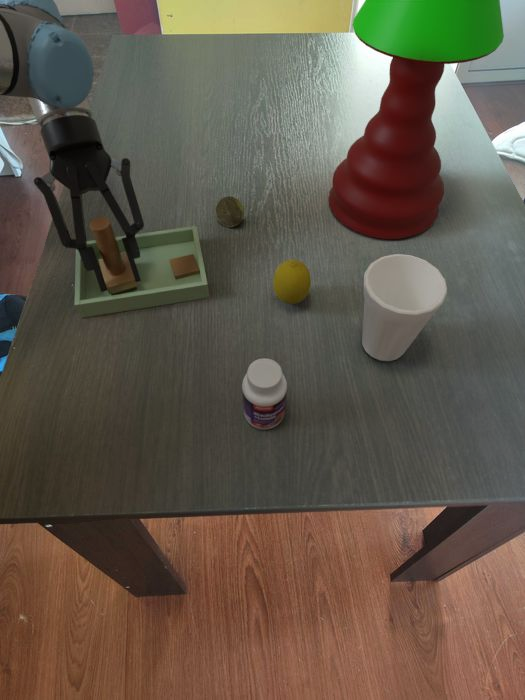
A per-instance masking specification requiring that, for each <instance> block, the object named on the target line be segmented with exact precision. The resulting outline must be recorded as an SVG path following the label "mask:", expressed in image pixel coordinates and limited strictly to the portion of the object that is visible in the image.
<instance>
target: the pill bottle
mask: <svg viewBox="0 0 525 700" xmlns="http://www.w3.org/2000/svg"><path fill="white" fill-rule="evenodd" d="M287 391H288V383H287V379H286V377H285V374H284V373H283V370H282V367H281V366H280V365H279V363H278V362H277V361H275V360H273V359H271V358H264V357H263V358H258V359H256V360H254V361H252V362H251V363H250V364H249V366H248V368H247V372H246V373H245V375H244V377H243V379H242V384H241V392H242V394H241V395H242V404H243V405H242V407H243V409H242V410H243V415H244V418H245V420H246V421H247V423H248V424H249V425H250V426H251V427H254V428H256V429H258V430H270V429H273V428H275V427H277V426H278V425H280V423H281V422H282V421H283V419H284V417H285V413H286V403H287Z"/></svg>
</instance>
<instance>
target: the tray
mask: <svg viewBox="0 0 525 700" xmlns="http://www.w3.org/2000/svg"><path fill="white" fill-rule="evenodd" d="M125 237H126V235H120V236H115V238H116V240H117V243H118V246H119V249H120V252H121V253H125V252H126V250H125V247H124V244H123V241H122V238H125ZM135 238H136V241H137V244H138V248H139V251H140V258H136V259H134V261H135V264H136V267H137V270H138V273H139V276H140V279H141V281H139V282H136V283H137V290H133V291H130V292H126V293H123V294H118V295H112V296H111V294H109V293H108V290H107V291H103V292H101V289H100V287H99V284H98V281H97V278H96V275H95V272H94V270H91V271H87V270H86V269H85V268H84V265H83V262H82V259H81V256H80V253H79V251H78V250H77V249H75V272H74V273H75V277H74V307H75V309H76V311H77V313H78V315H79V317H80V319H84V318H90V317H96V316H103V315H108V314H116V313H121V312H127V311H133V310H139V309H146V308H147V309H148V308H153V307H159V306H165V305H171V304H177V303H185V302H190V301H191V302H192V301H196V300H197V301H198V300H203V299H209V298H210V289H209V284H208V278H207V274H206V268H205V264H204V258H203V252H202V248H201V243H200V238H199V232H198V227H197V225H192V226H184V227H177V228H170V229H163V230H157V231H149V232H142V233H141V232H140V233H136V235H135ZM86 241H87V247H90V246H92V247H93V249H94V252H95V255H96V258H97V261H98V264H99V266H100V263H99V259H102V256H101V254H100V251H99V249H98V246H97V244H96V241H95V239H92V240H86ZM191 254H194V257H195V260H196V262H197V265H198V268H199V270H200V274H196V275H192V276H188V277H184V278H180V279H175V276H174V273H173V270H172V267H171V264H170V259H174V258H178V257H182V256H187V255H191ZM100 269H101V267H100ZM101 272H102V270H101ZM102 275H103V274H102ZM103 278H104V277H103Z"/></svg>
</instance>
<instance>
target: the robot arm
mask: <svg viewBox="0 0 525 700" xmlns="http://www.w3.org/2000/svg"><path fill="white" fill-rule="evenodd" d="M93 61H94V60H93V57H92V55H91V52H90V50H89V48H88V45H86V43H85V42H84V40H83V39H82V38H81V37H80V36H79V35H78V34H76V33H75V32H73V31H71V30H69V29H67V26H66V25H65V23H64V21H63V18H62V16H61V13H60V11H59V8H58V5H57V4H56V1H54V0H0V96H6V97H17V98H27V99H28V102H29V104H30V107H31V109H32V112H33V115H34V118H35V120H36V123H37V125H38V126H39V127H41V128H40V136H41V138H42V141H43V144H44V147H45V150H46V152H47V155H48V158H49V172H47V173H45V174H44V175H42V176H41V177H40V176H37V177H35V178H34V179H33V183H34V185H35V187H37V189H38V190H39V191H40V192H41V194H42V195H43V197H44V200H45V202H46V205H47V209H48V210H49V214H50V216H51V218H52V221H53V225H54V227H55V229H56V232H57V234H58V237H59V240H60V242H61V245H62V246H63V247H64V248H66V249H72V250H73V249H75V250H76V249H77V250H78V251H79V253H80V256H81V259H82V262H83V265H84V268H85V269H86V270H87V271H91V270H94V272H95V275H96V278H97V281H98V284H99V287H100V289H101V292H103V291H107V287H106V284H105V281H104V278H103V275H102V272H101V269H100V266H99V264H98V261H97V258H96V255H95V252H94V249H93V247H92V246H90V247H87V241H88V240H87V233H86V232H87V231H86V224H85V216H84V215H85V213H84V206H83V204H84V203H83V195H85V194H87V193H88V192H97V191H99V192H100V194H101V196H102V197H103V199H104V201H105V202H106V205H107V206H108V207H109V210H110V212H111V213H112V214H113V216H114V218H115V220H116V221H117V223H118V225H119V227H120V228H121V230H122V232H123V233H124V236H126V237H125V238H122V241H123V244H124V247H125V250H126V253H127V256H128V259H129V263H130V266H131V269H132V272H133V275H134V278H135V281H136V282H139V281H141V279H140V276H139V273H138V270H137V267H136V264H135V261H134V259H136V258H140V251H139V248H138V244H137V241H136V238H135V235H136V234H139V232H140V231H142V230H144V228H145V223H144V219H143V215H142V212H141V209H140V204H139V202H138V197H137V195H136V192H135V188H134V185H133V181H132V178H131V160H130V159H129V158H128V157H124V158H122V159H119V158H112V157H111V155H110V154H109V153H108V152H107V151H106V149H105V147H104V143H103V140H102V138H101V135H100V131H99V128H98V125H97V121H96V120H95V119H94V118H92V117H93V110H92V107H91V104H90V101H89V97H88V96H89V94H90V93H91V90H92V88H93V83H94V76H95V75H94V70H95V69H94V68H95V67H94V62H93ZM111 168H113V169H114V171H115V174H116V175H117V176H119V177H121V183H122V186H123V189H124V193H125V196H126V200H127V202H128V206H129V209H130V213H131V217H132V219H133V223H132V224H130V222H129V220H128V219H127V217H126V215H125V214H124V212H123V210H122V208H121V207H120V205H119V203H118V202H117V199H116V198H115V196H114V194H113V193H112V191H111V190H110V189H111V188H109V186H108V184H107V180H108V177H109V175H110V171H111ZM55 180H56V181H58V182H59V183H60V184H61V185H62V186H64V187H65V188H67V189H68V190H69V195H70V196H69V197H70V199H71V209H72V218H73V227H74V229H73V230H74V236H75V239H74V238H72V237H71V235H70V232H69V229H68V226H67V224H66V221H65V218H64V214H63V212H62V210H61V207H60V204H59V202H58V199H57V197H56V195H55V192H54V191H56V185H55Z"/></svg>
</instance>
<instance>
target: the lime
mask: <svg viewBox="0 0 525 700" xmlns="http://www.w3.org/2000/svg"><path fill="white" fill-rule="evenodd" d="M244 208H245V207H244V206H243V203H242V202H241V201H240V200H239V199H238V198H236V197H234V196H224V197H222V198H220V200H219V201H218V202H217V204H216V206H215V215H216V219H218V222H220V224H221V225H222V226H223V227H227V228H234V227H236V226H239V225H240V224H241V223H242V220H243V219H244V216H245V209H244Z"/></svg>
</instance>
